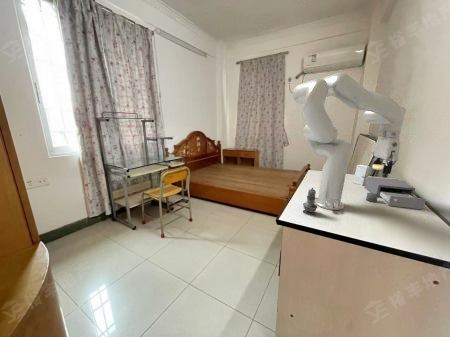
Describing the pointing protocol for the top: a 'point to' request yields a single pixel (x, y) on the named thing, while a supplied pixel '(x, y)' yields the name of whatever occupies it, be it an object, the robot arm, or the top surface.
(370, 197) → the puck
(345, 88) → the robot arm
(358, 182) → the skincare box
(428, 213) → the top surface
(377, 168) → the disc
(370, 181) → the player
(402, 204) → the grey drawer
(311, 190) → the grey stone pagoda
